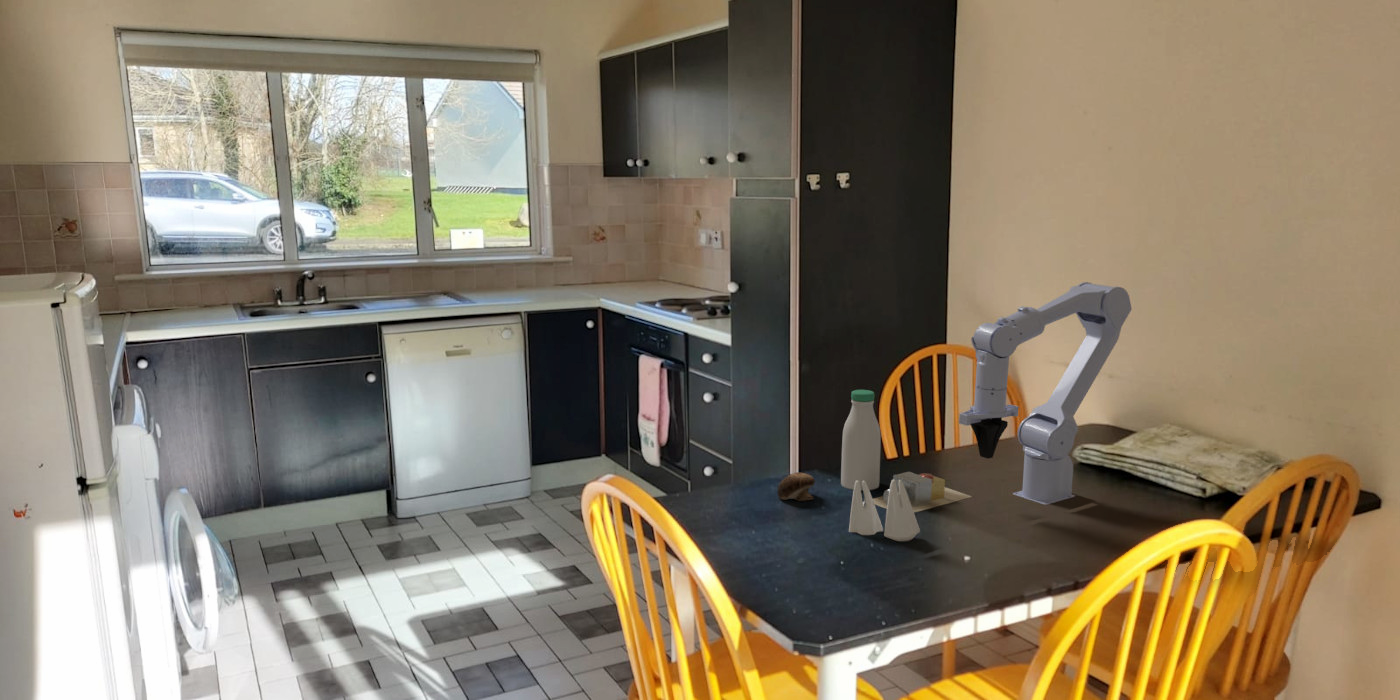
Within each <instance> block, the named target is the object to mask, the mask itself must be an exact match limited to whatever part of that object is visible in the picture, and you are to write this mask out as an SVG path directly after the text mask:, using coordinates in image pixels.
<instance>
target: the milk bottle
mask: <svg viewBox="0 0 1400 700" xmlns="http://www.w3.org/2000/svg"><path fill="white" fill-rule="evenodd" d="M850 399H851V401H850V402H851V408H850V411H849V414H848V416H847V418H846V420H845V423H844V426H843V429H842V440H841V441H842V442H841V443H842V444H841V462H840V463H841V467H840V485H841V486H842V487H844V488H846V489H848V490H853V491H854V485H855V481H857V480H858V481H859V483H860V489H861V491H863V485H862V481H865V482H866V484H867V486H868V488H869V491H873V490H876V489H878V488H879V487H880V475H881V474H880V472H881V471H880V469H881V468H880V467H881V439H882V438H881V436H882V435H881V434H882V433H881V427H880V424H879V422H878V419H877V416H876V413H875V410H874V403H875V392H874V391H872V390H868V389H855V390H852V391H851V395H850Z"/></svg>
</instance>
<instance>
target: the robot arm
mask: <svg viewBox="0 0 1400 700" xmlns="http://www.w3.org/2000/svg"><path fill="white" fill-rule="evenodd" d="M1131 311H1132V304H1131V299H1130V295H1129V292H1128V291H1127V290H1126V289H1125V288H1123V287H1121V286H1109V285H1102V284H1096V283H1095V284H1094V283H1092V282H1088V281H1085V282H1084V281H1083V282H1080V283H1078V285H1074V286H1071V287H1070V288H1069V291H1067V292H1065V293H1064V294H1062V295H1060V296H1058V297H1056V298H1055V299H1052V300H1051V301H1049V302H1047V303H1045V304H1044V305H1042V306H1040V307H1038V308H1034V307H1032V306H1023V305H1021V306H1020V307H1018V308H1017V311H1016V312H1014V313H1012V314H1009V315H1007V316H1005V317H1004V316H1001V317H999V318H997V321H995V323H993V322H985V323H982V324H980V325H979V326H978V327H977V328H976V330H975V332H974V333H973V336H971V338H970V339H971V341H970V342H971V344H972V345H971V346H972V348H973V349H974V351H975V358H976V369H975V370H976V371H975V372H976V374H975V386H974V399H973V400H974V403H973V405H970V407H969V409H968V410H966V411H964V412H960V413H959V416H958V417H959V418H958V424H960V425H964V426H970V427H971V429H972V431H973V433H974V435H975V439H976V443H977V446H978V453H979V457H981V458H983V459H984V458H985V459H988V460H989V459H993V458H994V455H995V452H996V450H997V446H998V444H999V441H1000V438H1001V437H1002V435H1003V433H1004V432H1005V430H1006V429H1007V427H1008V425H1009V423H1008V421H1007V420H1003V418H1007V417H1019V406H1017V405H1014V404H1007V395H1008V394H1007V392H1008V376H1009V365H1010V364H1009V363H1010V356H1012V355H1013V354H1014V353H1015V351H1016V350H1017V347H1018V346H1020V345H1021V344H1024V343H1025V342H1028V341H1030V340H1032V339H1033V338H1036V337H1038V336H1040V335H1042V334H1043V333H1044V331H1045V328H1046V326H1047V325H1049V324H1052V323H1054V322H1057V321H1059V320H1062V319H1064V318H1067V317H1069V316H1071V315H1074V314H1076V317H1077V318H1078V320H1079V322H1080V324H1081V325H1082V327H1083V329H1085V333H1086V336H1085V337H1084V339H1083V341H1082V343H1081V344H1080V346H1079V347H1078V349H1077V350H1076V352H1075V355H1074V356H1073V358H1072V359H1071V361H1070V363H1069V364H1068V367H1067V368H1066V370H1065V371H1064V373H1063V375H1062V376H1061V378H1060V380H1059V382H1058V383H1057V385H1056V387H1055V388H1054V390H1053V391H1052V394H1051V395H1050V397H1049V399H1048V400H1047V402H1045V403H1043V404H1041V405H1038V406H1036V407H1035V408H1033V409H1032V411H1031V412H1030V414H1029V415H1028V416H1027V417H1025V418H1024V419H1023V420H1022V421H1020V424H1019V425H1018V428H1017V438H1018V442H1019V443H1020V445H1022V451H1023V452H1024V458H1023V459H1024V460H1023V472H1022V473H1023V474H1022V475H1023V476H1022V489H1021V490H1019V491H1016V492H1013V493H1012V494H1013V495H1014V496H1018V497H1020V498H1024V499H1026V500H1029V501H1033V502H1035V503H1039V504H1042V505H1045V506H1047V505H1051V504H1054V503H1056V502H1060V501H1065V500H1067V499H1068V500H1069V499H1070V498H1071V499H1072V498H1074V497H1076V495H1075V494H1073V493H1072V491H1073V488H1072V487H1073V475H1074V464H1073V461H1072V458H1071V457H1070V456H1069V455H1068V454H1070V452H1071V451H1072V448H1073V447H1074V443H1075V438H1076V434H1077V433H1078V431H1079V426H1078V424H1077V422H1076V419H1075V417H1074V416H1075V414H1076V412H1077V411H1078V410H1079V408H1080V406H1081V404H1082V402H1083V401H1084V399H1085V397H1086V395H1087V394H1088V392H1089V390H1090V388H1091V387H1092V385H1093V384H1094V382H1095V380H1096V378H1097V376H1098V375H1099V373H1100V371H1101V370H1102V369H1103V366H1104V365H1105V363H1106V361H1107V359H1108V358H1109V356H1110V355H1111V353H1112V351H1113V349H1114V347H1116V346H1115V345H1116V344H1117V342H1118V340H1119V338H1120V334H1121V330H1122V327H1123V325H1124V323H1125V322H1126V320H1127V318H1128V316H1129V315H1130V313H1131Z"/></svg>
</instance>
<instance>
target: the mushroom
mask: <svg viewBox="0 0 1400 700" xmlns="http://www.w3.org/2000/svg"><path fill="white" fill-rule="evenodd" d="M815 483H816V480H815V478H814V477H813V475H810V474H808V473H805V472H794V473H791V474H789V475H787V476H786V477H784V478H783V479H782V480H781V481H780V483H779V484H778V486H777V496H778V498H779V499H780V500H782V501H783V500H784V501H786V500H790V499H791V500H792V499H793V500H796V501H798V502H800V501H801V502H803V501H812V500H814V499H815V498H814V496H813V495H812V494H811V493H810V492H809V489H810V488H811V487H813V486H814V485H815Z"/></svg>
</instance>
